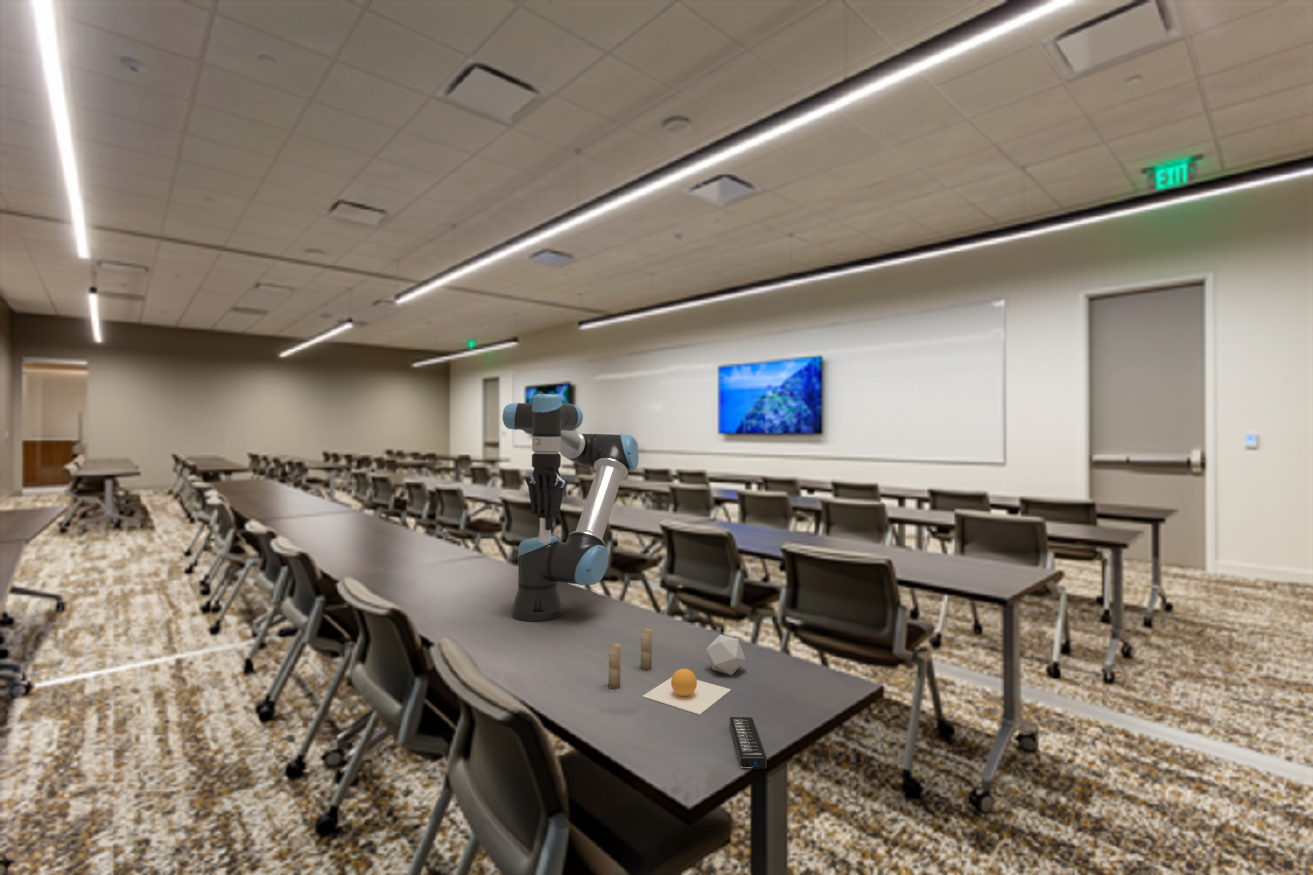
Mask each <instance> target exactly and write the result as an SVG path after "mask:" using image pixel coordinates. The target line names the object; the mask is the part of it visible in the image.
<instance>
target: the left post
mask: <svg viewBox="0 0 1313 875" xmlns="http://www.w3.org/2000/svg"><path fill="white" fill-rule="evenodd" d="M621 653H622V645H621V644H620V643H610V644H609V645H608V688H609V689H612V690H614V689H615V690H616V689H619V688H621V669H622V668H621V666H622V665H621V660H622V659H621V656H622V654H621Z"/></svg>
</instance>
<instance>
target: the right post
mask: <svg viewBox="0 0 1313 875" xmlns="http://www.w3.org/2000/svg"><path fill="white" fill-rule="evenodd" d="M640 632H641V633H640V669H641V670H643V671H649V670H652V664H653V662H652V660H653V658H652V656H653V653H652V652H653V629H652V628H642V629H641V631H640Z"/></svg>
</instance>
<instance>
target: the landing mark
mask: <svg viewBox="0 0 1313 875" xmlns="http://www.w3.org/2000/svg"><path fill="white" fill-rule="evenodd" d="M671 679H672V676H671V677H669V678H668V679H667V680H665V681H664V682H662V683H661V684H659V685H658V686H656V687H654V688H652V689H651V690H650V691H648V692H647V693H645V694H643V695H642V696H641V697H642V698H645V699H647V700H651V701H653V702H656V703H660V704H663V705H666V706H669V707H673V708H676V709H679V710H683V711H685V712H689V713H691V714H695V715H698V716H701V715H702V714H703V713H705V712H706V711H707V710H709V708H711V707H712V706H713V705H714V704H716V703H717V702H718V701H720V700H721V699H723V698H724V696H727V694H729V693H730V692H731V691H732V689H731V688H728V687H725V686H722V685H717V684H713V683H709V682H706V681H703V680H699V679H696V680H697V686H696V689H695V691H694V692H693V693H692V694H691V695H689V696H680V695H678V694H676V693H675V692H674V690H673V688H672V685H671Z"/></svg>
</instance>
